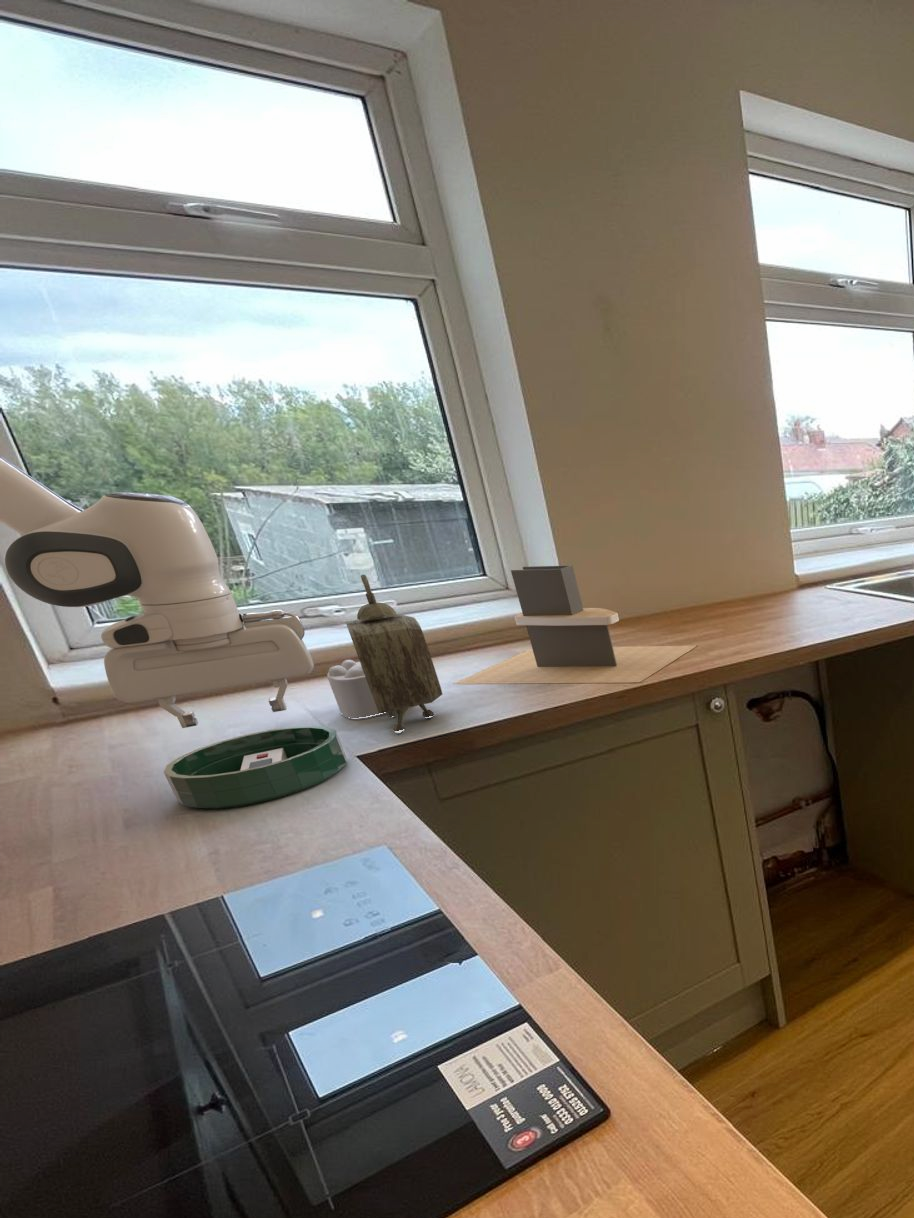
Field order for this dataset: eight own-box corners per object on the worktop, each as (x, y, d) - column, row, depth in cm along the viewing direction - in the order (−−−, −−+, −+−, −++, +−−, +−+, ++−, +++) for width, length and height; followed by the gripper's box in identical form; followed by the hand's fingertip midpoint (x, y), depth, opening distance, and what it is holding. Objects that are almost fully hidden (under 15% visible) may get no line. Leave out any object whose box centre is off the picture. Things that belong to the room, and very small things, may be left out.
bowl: (171, 825, 105) (154, 790, 103) (189, 780, 118) (174, 748, 116) (348, 783, 115) (336, 751, 113) (346, 746, 128) (335, 716, 127)
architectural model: (697, 645, 177) (679, 554, 169) (639, 682, 154) (616, 578, 146) (533, 647, 181) (508, 558, 173) (452, 683, 157) (420, 582, 150)
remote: (285, 786, 113) (278, 770, 112) (243, 796, 111) (236, 780, 110) (288, 761, 122) (282, 746, 121) (249, 769, 120) (243, 754, 119)
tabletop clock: (380, 717, 141) (328, 573, 131) (440, 705, 146) (395, 565, 136) (388, 740, 130) (332, 585, 120) (453, 725, 136) (405, 575, 126)
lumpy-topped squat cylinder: (351, 722, 139) (333, 674, 135) (332, 707, 147) (315, 661, 143) (421, 705, 146) (405, 659, 142) (399, 692, 154) (384, 648, 150)
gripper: (296, 604, 115) (330, 696, 120) (93, 628, 104) (140, 729, 109) (295, 611, 110) (329, 706, 116) (82, 637, 99) (131, 742, 104)
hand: (236, 717), depth 112 cm, fingers open, 8 cm apart
